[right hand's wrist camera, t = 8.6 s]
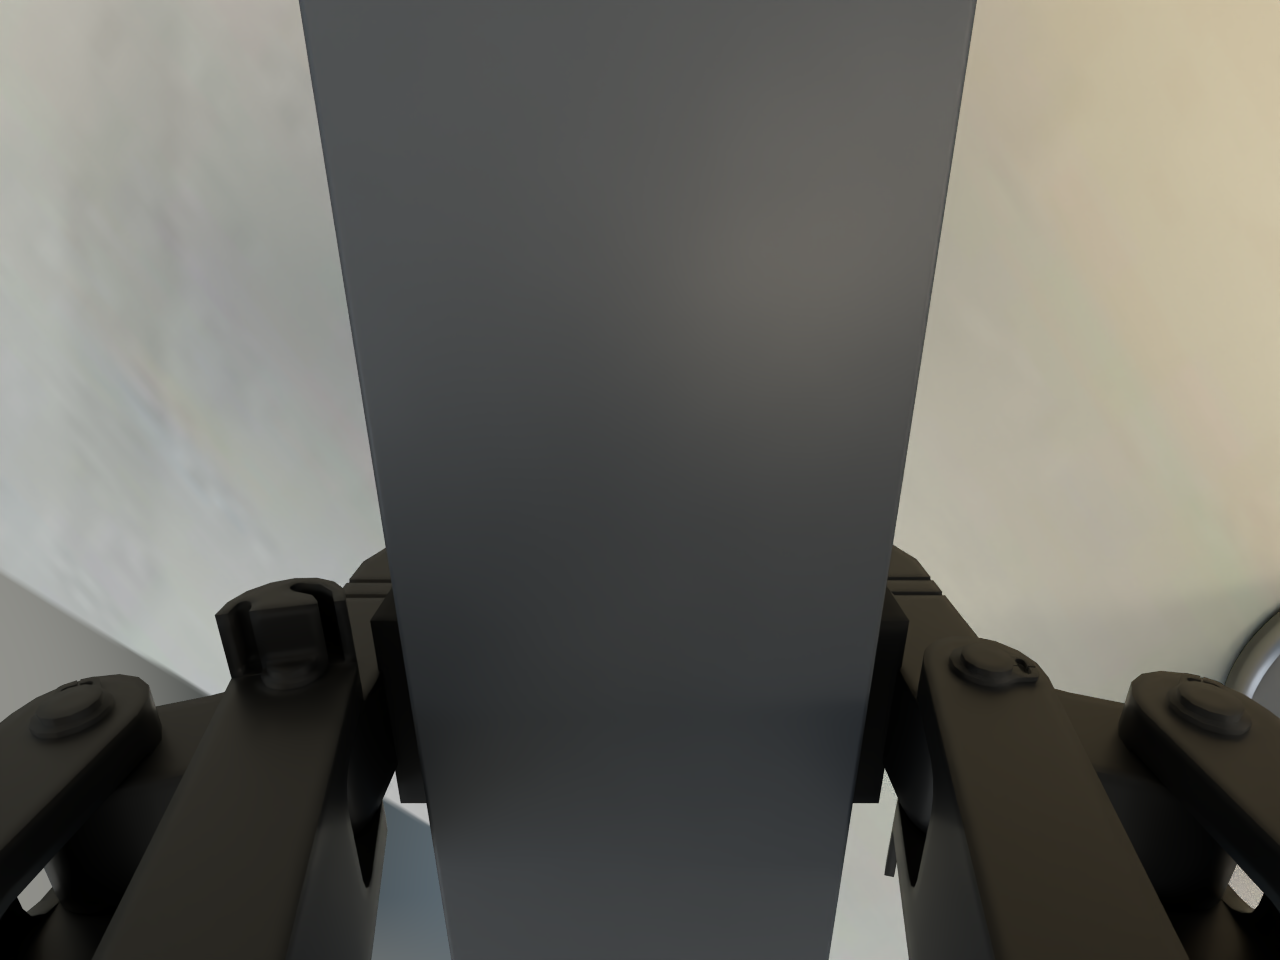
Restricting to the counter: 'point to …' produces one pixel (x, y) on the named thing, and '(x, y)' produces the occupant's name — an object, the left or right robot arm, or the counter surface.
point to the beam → (638, 434)
